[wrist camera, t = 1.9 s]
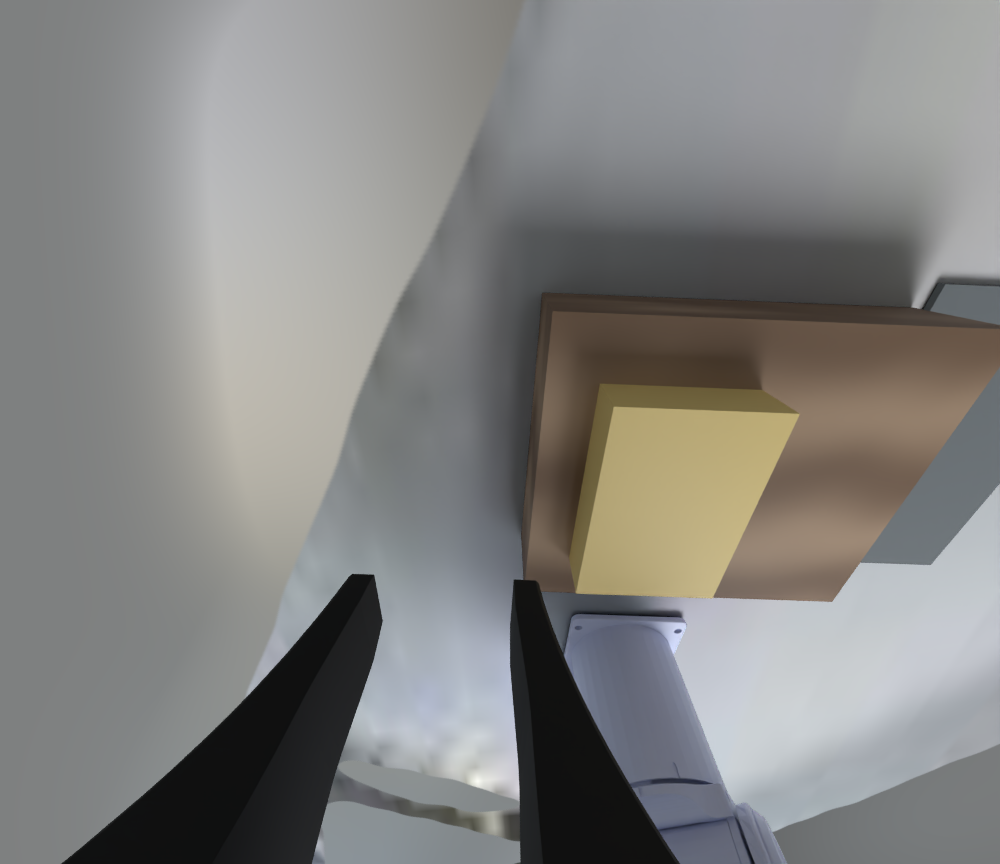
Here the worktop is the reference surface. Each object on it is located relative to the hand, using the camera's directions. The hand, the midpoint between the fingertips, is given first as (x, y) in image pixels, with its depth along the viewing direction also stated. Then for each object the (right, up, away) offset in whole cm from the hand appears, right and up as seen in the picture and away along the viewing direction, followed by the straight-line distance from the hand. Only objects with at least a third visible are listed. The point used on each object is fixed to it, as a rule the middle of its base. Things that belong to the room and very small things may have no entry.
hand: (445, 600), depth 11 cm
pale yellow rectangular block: (+8, +3, +5) cm, 10 cm away
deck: (+11, +4, +9) cm, 15 cm away
